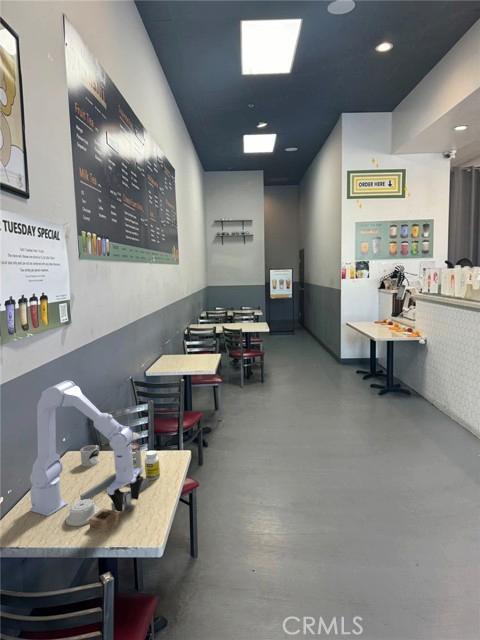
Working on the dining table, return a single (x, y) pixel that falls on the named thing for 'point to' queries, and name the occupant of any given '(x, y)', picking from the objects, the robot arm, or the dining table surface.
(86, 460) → the mug
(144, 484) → the grey u-shaped bracket
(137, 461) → the french press
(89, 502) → the mechanical component
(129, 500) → the pin
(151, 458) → the supplement bottle
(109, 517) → the hollow wooden square
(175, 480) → the dining table surface
